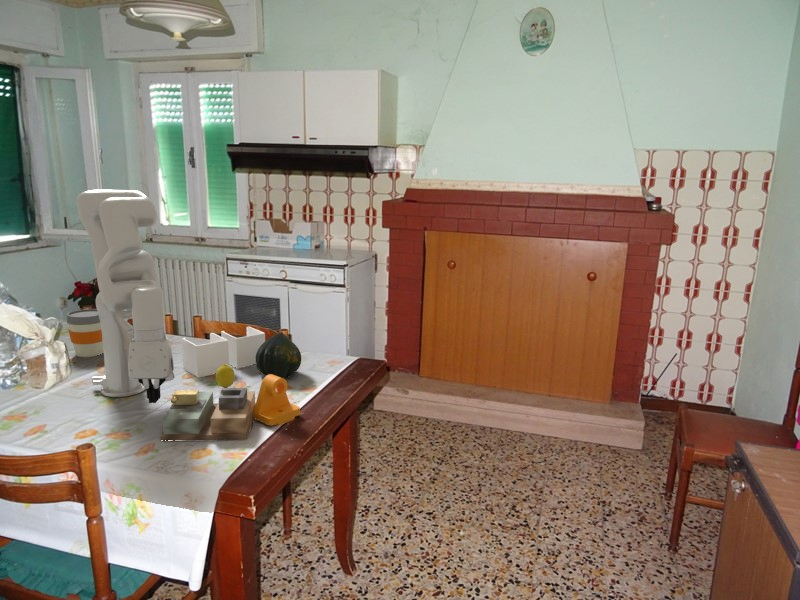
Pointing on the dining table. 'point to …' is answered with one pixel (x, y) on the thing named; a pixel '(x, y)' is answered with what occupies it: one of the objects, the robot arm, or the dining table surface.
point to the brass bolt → (185, 397)
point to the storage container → (221, 352)
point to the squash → (278, 356)
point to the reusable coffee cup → (85, 332)
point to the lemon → (225, 376)
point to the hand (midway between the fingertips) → (154, 401)
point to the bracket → (274, 402)
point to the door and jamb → (212, 417)
